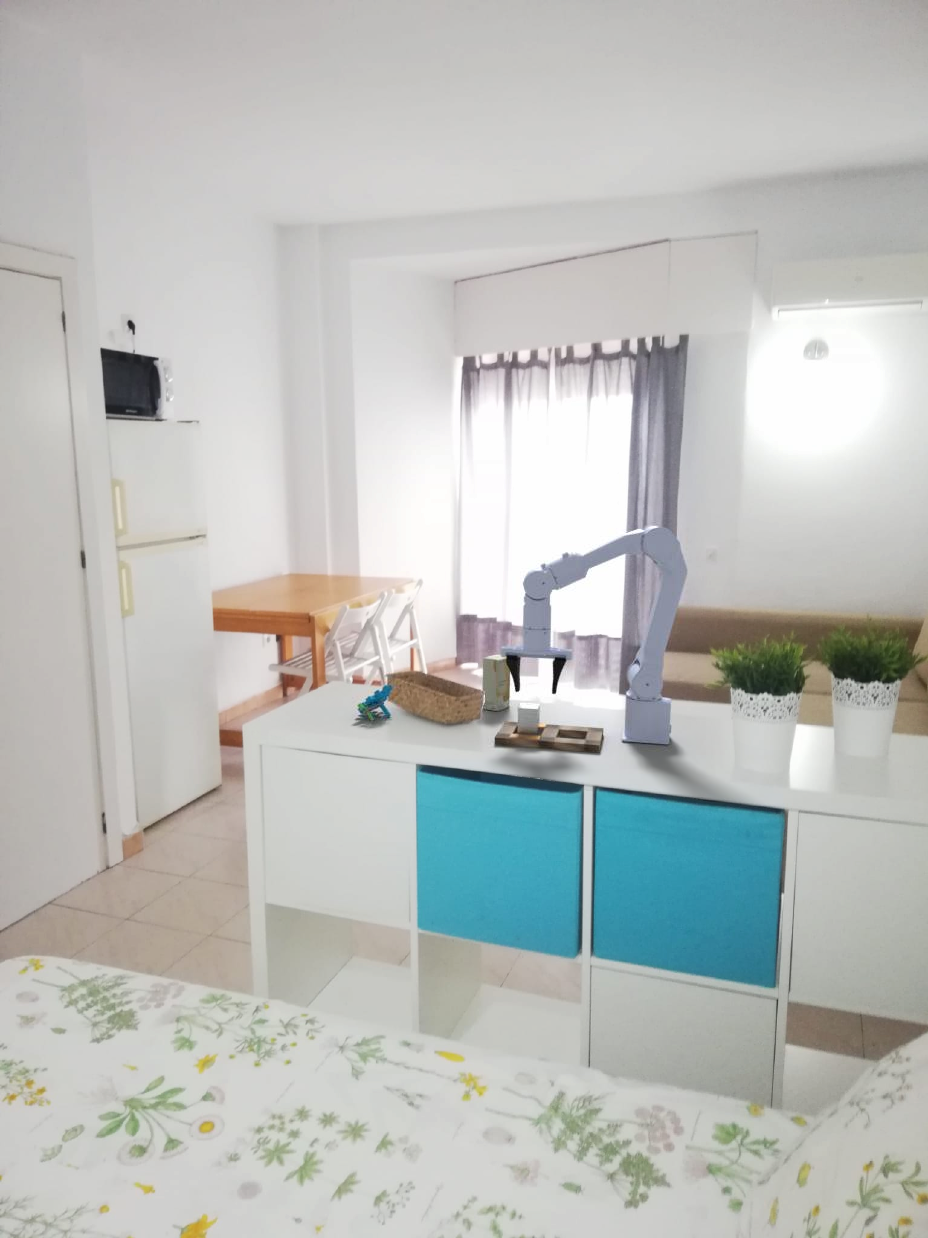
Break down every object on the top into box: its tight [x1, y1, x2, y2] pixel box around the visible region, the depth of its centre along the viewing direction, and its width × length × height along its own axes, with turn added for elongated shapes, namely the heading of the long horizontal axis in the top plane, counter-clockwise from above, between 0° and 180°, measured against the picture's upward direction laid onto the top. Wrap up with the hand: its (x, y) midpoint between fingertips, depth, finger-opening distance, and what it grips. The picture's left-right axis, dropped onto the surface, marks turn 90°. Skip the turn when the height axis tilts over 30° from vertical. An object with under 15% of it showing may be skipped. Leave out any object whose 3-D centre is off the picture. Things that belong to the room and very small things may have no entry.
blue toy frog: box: [356, 684, 392, 722], centre depth 193 cm, size 11×6×10 cm
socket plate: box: [494, 721, 604, 753], centre depth 176 cm, size 21×12×2 cm, turn 77°
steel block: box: [517, 702, 541, 736], centre depth 177 cm, size 4×4×7 cm
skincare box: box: [481, 654, 511, 712], centre depth 200 cm, size 6×4×12 cm
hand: (535, 691), depth 178 cm, fingers open, 7 cm apart
